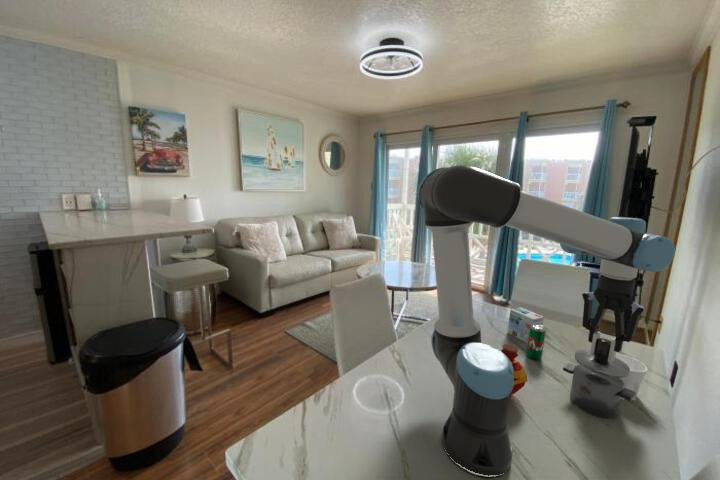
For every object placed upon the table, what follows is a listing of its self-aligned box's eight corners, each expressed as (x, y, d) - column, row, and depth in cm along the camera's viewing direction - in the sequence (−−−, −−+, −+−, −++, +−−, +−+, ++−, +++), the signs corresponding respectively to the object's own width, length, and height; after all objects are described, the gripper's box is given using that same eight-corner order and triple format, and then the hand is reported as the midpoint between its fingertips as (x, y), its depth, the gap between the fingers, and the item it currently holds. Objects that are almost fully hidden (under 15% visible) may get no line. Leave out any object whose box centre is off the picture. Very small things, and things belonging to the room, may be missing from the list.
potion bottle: (501, 409, 84) (508, 359, 81) (478, 385, 94) (483, 340, 91) (532, 403, 86) (540, 355, 84) (506, 381, 96) (512, 337, 94)
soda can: (537, 353, 113) (541, 323, 111) (544, 361, 108) (548, 329, 106) (523, 352, 114) (527, 322, 112) (529, 360, 109) (533, 328, 107)
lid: (617, 382, 77) (622, 357, 76) (566, 358, 87) (569, 336, 86) (637, 369, 83) (642, 346, 82) (587, 348, 93) (590, 327, 92)
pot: (620, 430, 78) (627, 399, 76) (553, 395, 90) (558, 367, 89) (634, 414, 84) (641, 384, 82) (570, 382, 97) (574, 356, 95)
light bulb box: (506, 332, 129) (509, 308, 127) (517, 330, 132) (520, 306, 130) (529, 345, 120) (533, 319, 118) (541, 341, 123) (544, 316, 121)
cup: (594, 389, 94) (599, 359, 92) (602, 377, 100) (607, 349, 99) (637, 407, 86) (644, 376, 85) (643, 393, 93) (649, 363, 91)
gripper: (663, 282, 76) (645, 368, 80) (586, 267, 89) (574, 341, 93) (654, 287, 72) (636, 377, 76) (575, 270, 85) (563, 347, 89)
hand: (602, 357), depth 85 cm, fingers closed on lid, 3 cm apart
